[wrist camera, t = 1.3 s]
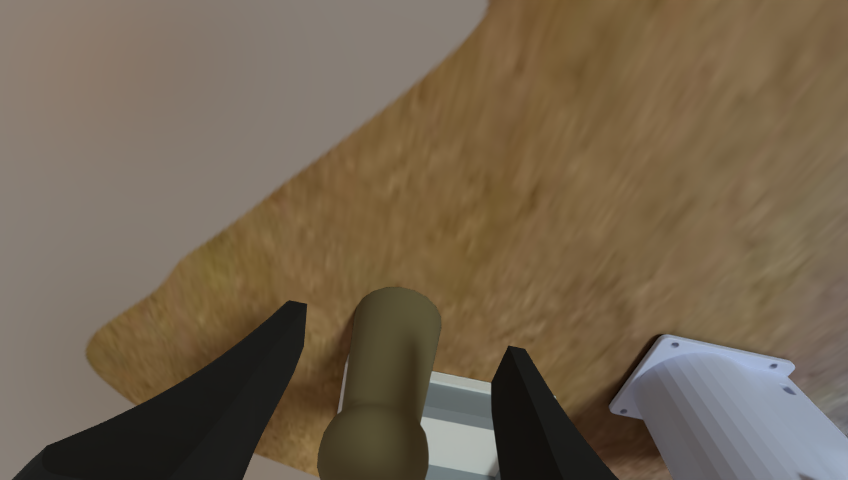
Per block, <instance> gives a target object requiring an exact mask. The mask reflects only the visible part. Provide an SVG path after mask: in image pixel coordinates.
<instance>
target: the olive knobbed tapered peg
mask: <svg viewBox="0 0 848 480" xmlns="http://www.w3.org/2000/svg"><path fill="white" fill-rule="evenodd" d="M440 331H441V316H440V314H439V312H438V310H437V308H436V306H435V305H434V304H433V303H432V302H431V301H430V300H429V299H428V298H427V297H425V296H423V295H422V294H420V293H418V292H416V291H414V290H410V289H406V288H402V287H386V288H383V289H379V290H376V291H373V292H372V293H370V294H369V295H367V296H365V297H364V298H363V299H362V300H361V302H360V303H359V305H358V306H357V308H356V313H355V317H354V324H353V331H352V339H351V346H350V353H349V360H348V367H347V375H346V382H345V389H344V396H343V403H342V411H341V412H339V413H338V414H337V415H336V416H335V417H334V419H333V420H332V421H331V422H330V424H329V425H328V427H327V429H326V430H325V432H324V434H323V437H322V440H321V443H320V447H319V452H318V462H317V468H318V472H319V476H320V480H425V478H426V475H427V471H428V468H429V450H428V442H427V437H426V433H425V431H424V430H423V428H422V426H421V425H420V424H421V419H422V414H423V410H424V405H425V401H426V396H427V391H428V387H429V382H430V377H431V373H432V368H433V364H434V359H435V354H436V350H437V345H438V341H439V336H440Z"/></svg>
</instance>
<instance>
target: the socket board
mask: <svg viewBox="0 0 848 480" xmlns="http://www.w3.org/2000/svg"><path fill="white" fill-rule="evenodd" d="M348 360H349V354H348V357H347V360H346V364H345V370H344V376H343V382H342V389H341V395H340V401H339V407H338V413H339V412H341V411H342V403H343V396H344V389H345V382H346V375H347V367H348ZM554 397H555V396H554ZM555 398H556V397H555ZM338 413H337V414H338ZM420 425H421V426H422V428H423V430H424V431H425V433H426V437H427V442H428V450H429V468H428V471H427V475H426V478H425V480H501V478H500V471H499V464H498V457H497V449H496V442H495V435H494V428H493V421H492V413H491V383H488V382H483V381H479V380H474V379H469V378H464V377H459V376H454V375H449V374H444V373H439V372H434V371H432V373H431V377H430V382H429V387H428V391H427V396H426V401H425V405H424V410H423V414H422V419H421V424H420Z"/></svg>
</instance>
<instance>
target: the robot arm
mask: <svg viewBox="0 0 848 480" xmlns="http://www.w3.org/2000/svg"><path fill="white" fill-rule="evenodd" d="M306 312H307V304H305V303H300V302H295V301H290V300H289V301H288V302H286V303H285V304H284V305H283V306H282V307H281V308H279V309H278V310H277V311H276V312H275V313H274V314H273V315H272V316H271V317H269V318H268V319H267V320H266V321H265V322H264V323H262V324H261V325H260V326H259V327H258V328H257V329H255V330H254V331H253V332H252V333H250V334H249V335H248V336H247V337H245V338H244V339H243V340H242V341H240V342H239V343H238V344H236V345H235V346H234V347H232V348H231V349H230V350H228V351H227V352H226V353H224V354H223V355H221V356H220V357H219V358H217V359H216V360H214V361H213V362H212V363H210V364H209V365H207V366H206V367H204V368H203V369H201V370H199V371H198V372H196V373H195V374H193V375H192V376H190V377H188V378H187V379H185V380H183V381H182V382H180V383H178V384H177V385H175V386H173V387H171V388H170V389H168V390H166V391H164V392H163V393H161V394H159V395H157V396H155V397H153V398H152V399H150V400H148V401H146V402H144V403H142V404H140V405H138V406H136V407H134V408H132V409H130V410H128V411H126V412H124V413H122V414H120V415H117V416H115V417H114V418H111V419H109V420H107V421H105V422H103V423H100V424H99V425H96V426H94V427H91V428H89V429H87V430H84V431H82V432H79V433H77V434H75V435H72V436H70V437H67V438H65V439H63V440H60V441H58V442H55V443H53V444H50V445H47V446H46V447H45V448H44V449H43V450H42V451H41V452H40V453H39V454H38V455H36V456H35V457H34V458H33V459H32V460H31V461H30V462H29V463H28V464H27V465H26V466H25V467H24V468H23V469H22V470H21V471H20V472H19V473H18V474H17V475H16V476H15V477H14V478H13V479H12V480H242V479H243V477H244V475H245V472H246V470H247V467H248V465H249V462H250V460H251V458H252V455H253V453H254V450H255V448H256V446H257V444H258V442H259V439H260V437H261V435H262V433H263V431H264V429H265V427H266V425H267V424H268V422H269V420H270V418H271V416H272V414H273V412H274V410H275V408H276V406H277V404H278V402H279V400H280V399H281V397H282V395H283V393H284V391H285V389H286V387H287V385H288V383H289V381H290V379H291V377H292V375H293V373H294V371H295V368H296V365H297V363H298V360H299V358H300V355H301V352H302V350H303V347H304V337H305V325H306ZM672 343H673V344H672ZM794 369H795V365H794V364H793V363H792V362H791V361H789V360H785V359H780V358H775V357H771V356H766V355H761V354H757V353H752V352H747V351H743V350H738V349H733V348H729V347H724V346H719V345H715V344H710V343H706V342H701V341H696V340H692V339H687V338H682V337H678V336H673V335H667V334H665V335H662V336H660V337H659V338H658V339H657V340H656V342H655V343H654V344H653V346H652V347H651V348H650V350H649V351H648V353H647V354H646V355H645V357H644V358H643V359H642V361H641V362H640V364H639V365H638V366H637V368H636V369H635V370H634V372H633V373H632V374H631V376H630V377H629V379H628V380H627V381H626V383H625V384H624V385H623V387H622V388H621V390H620V391H619V392H618V394H617V395H616V396H615V398H614V399H613V400H612V402H611V403H610V405H609V409H610V412H611V413H613V414H618V415H623V416H628V417H633V418H638V419H642V420H644V422H645V424H646V426H647V428H648V430H649V432H650V434H651V436H652V438H653V440H654V442H655V444H656V446H657V448H658V450H659V452H660V454H661V456H662V458H663V460H664V462H665V464H666V466H667V468H668V470H669V472H670V474H671V476H672V478H673V480H848V438H847V437H846V436H845V435H844V434H843V433H842V432H841V431H840V430H839V429H838V428H837V427H836V426H835V425H834V424H833V423H832V422H831V421H830V420H829V419H828V418H827V417H826V416H825V415H824V414H823V412H822V411H821V410H820V409H819V408H818V407H817V406H816V405H815V404H814V403H813V402H812V401H811V400H810V399H809V398H808V397H807V396H806V395H805V394H804V393H803V392H802V391H801V390H800V389H799V388H798V387H797V386H796V385H795V384H794V383H793V382H792V381H791V380H790V379H789V378H788V377H787V376H788V375H789V374H790V373H791V372H793V370H794ZM491 413H492V421H493V428H494V435H495V442H496V449H497V457H498V464H499V471H500V478H501V480H619V479H618V478H617V477H616V476H615V475H614V474H613V473H612V472H611V470H610V469H609V468H608V467H607V466H606V465H605V464H604V462H603V461H602V460H601V459H600V458H599V456H598V455H597V454H596V453H595V452H594V450H593V449H592V448H591V447H590V445H589V444H588V443H587V442H586V440H585V439H584V438H583V437H582V435H581V434H580V433H579V431H578V430H577V429H576V427H575V426H574V424H573V423H572V422H571V420H570V419H569V418H568V416H567V415H566V413H565V412H564V410H563V409H562V407H561V406H560V404H559V403H558V401H557V400H556V398H555V397H554V395H553V394H552V392H551V391H550V389H549V387H548V386H547V384H546V383H545V381H544V379H543V378H542V376H541V374H540V373H539V371H538V370H537V368H536V366H535V365H534V363H533V361H532V360H531V358H530V356H529V355H528V353H527V351H526V350H525V349H523V348H518V347H513V346H508V348H507V350H506V352H505V354H504V356H503V358H502V361H501V363H500V365H499V367H498V369H497V371H496V374H495V376H494V378H493V380H492V382H491Z"/></svg>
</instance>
